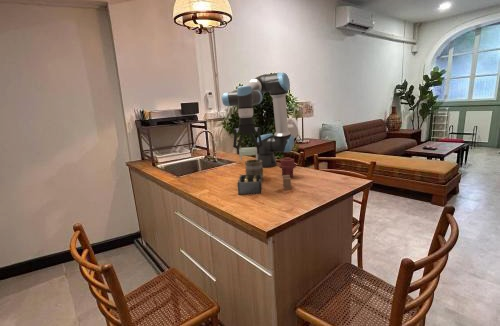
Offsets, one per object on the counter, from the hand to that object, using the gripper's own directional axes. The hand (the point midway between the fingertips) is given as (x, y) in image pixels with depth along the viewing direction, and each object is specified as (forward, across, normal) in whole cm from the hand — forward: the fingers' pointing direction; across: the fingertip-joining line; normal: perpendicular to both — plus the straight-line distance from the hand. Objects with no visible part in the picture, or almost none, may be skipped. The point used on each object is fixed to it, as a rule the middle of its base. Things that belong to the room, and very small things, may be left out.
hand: (248, 159), depth 145 cm
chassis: (+17, 0, 0) cm, 17 cm away
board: (-4, 0, 0) cm, 4 cm away
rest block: (+17, +20, +1) cm, 26 cm away
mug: (+17, +2, +20) cm, 26 cm away
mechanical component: (+17, +22, +21) cm, 35 cm away
